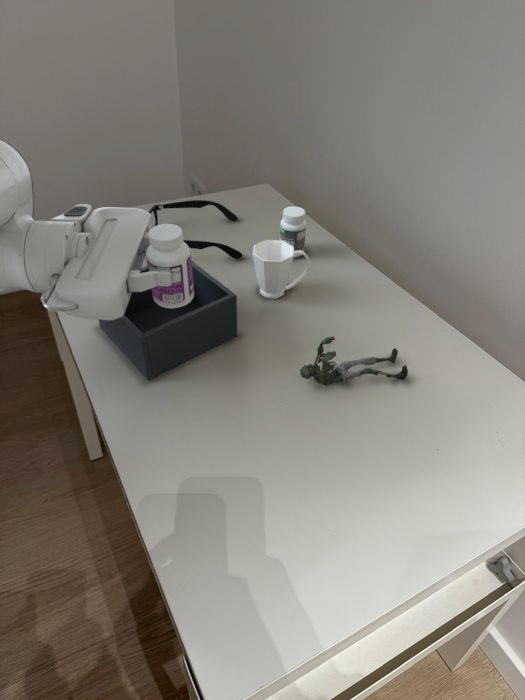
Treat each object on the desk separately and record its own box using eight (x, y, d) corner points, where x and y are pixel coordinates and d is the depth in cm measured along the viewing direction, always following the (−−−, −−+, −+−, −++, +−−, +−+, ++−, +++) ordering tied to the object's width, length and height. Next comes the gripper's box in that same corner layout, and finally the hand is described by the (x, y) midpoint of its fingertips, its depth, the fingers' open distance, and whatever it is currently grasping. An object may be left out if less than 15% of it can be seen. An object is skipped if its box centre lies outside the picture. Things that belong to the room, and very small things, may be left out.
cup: (246, 283, 90) (246, 242, 84) (300, 274, 92) (303, 233, 87) (258, 306, 85) (259, 264, 79) (315, 296, 87) (319, 255, 82)
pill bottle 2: (273, 251, 98) (275, 210, 92) (292, 243, 100) (294, 202, 94) (290, 261, 95) (293, 220, 89) (309, 253, 97) (312, 212, 92)
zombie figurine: (416, 346, 68) (306, 363, 65) (405, 382, 72) (303, 398, 70) (399, 320, 72) (295, 335, 69) (391, 356, 76) (293, 370, 74)
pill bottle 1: (170, 281, 70) (162, 216, 63) (202, 293, 68) (197, 227, 61) (144, 301, 66) (133, 234, 60) (176, 315, 64) (169, 247, 58)
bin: (148, 381, 72) (140, 338, 66) (100, 328, 80) (90, 287, 75) (237, 336, 79) (236, 295, 74) (185, 292, 87) (181, 252, 82)
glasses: (151, 224, 106) (147, 202, 103) (237, 218, 107) (235, 195, 104) (146, 268, 94) (141, 244, 91) (243, 261, 95) (241, 236, 91)
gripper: (26, 284, 54) (158, 288, 54) (82, 197, 69) (185, 200, 69) (42, 331, 58) (165, 335, 58) (91, 239, 73) (188, 242, 73)
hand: (176, 261), depth 63 cm, fingers closed on pill bottle 1, 5 cm apart
